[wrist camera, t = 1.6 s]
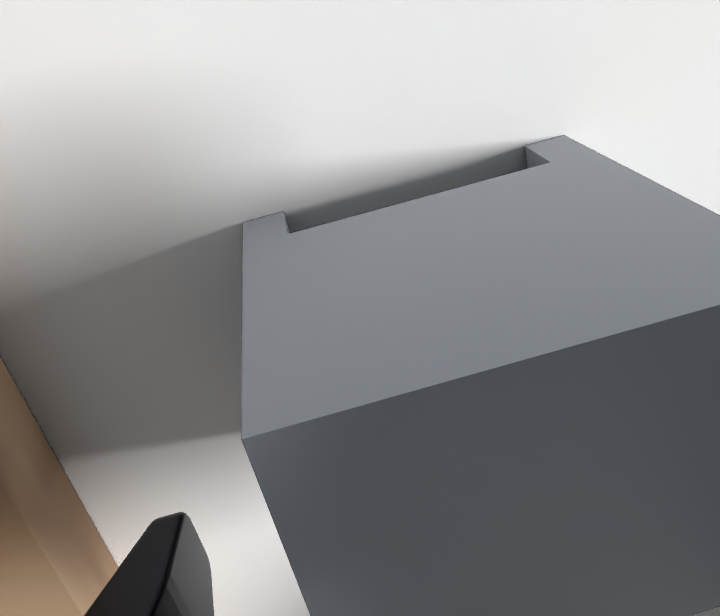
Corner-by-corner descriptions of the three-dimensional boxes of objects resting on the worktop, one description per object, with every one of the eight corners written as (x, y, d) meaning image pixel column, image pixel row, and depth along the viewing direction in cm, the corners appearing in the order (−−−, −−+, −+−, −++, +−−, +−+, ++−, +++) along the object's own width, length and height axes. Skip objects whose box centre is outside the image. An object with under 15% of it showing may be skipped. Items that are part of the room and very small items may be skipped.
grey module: (582, 343, 15) (799, 581, 9) (308, 420, 14) (349, 715, 9) (563, 135, 12) (832, 273, 7) (243, 222, 12) (242, 439, 7)
